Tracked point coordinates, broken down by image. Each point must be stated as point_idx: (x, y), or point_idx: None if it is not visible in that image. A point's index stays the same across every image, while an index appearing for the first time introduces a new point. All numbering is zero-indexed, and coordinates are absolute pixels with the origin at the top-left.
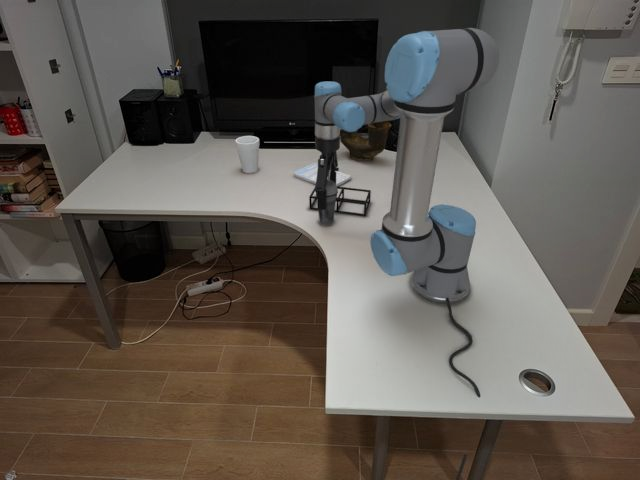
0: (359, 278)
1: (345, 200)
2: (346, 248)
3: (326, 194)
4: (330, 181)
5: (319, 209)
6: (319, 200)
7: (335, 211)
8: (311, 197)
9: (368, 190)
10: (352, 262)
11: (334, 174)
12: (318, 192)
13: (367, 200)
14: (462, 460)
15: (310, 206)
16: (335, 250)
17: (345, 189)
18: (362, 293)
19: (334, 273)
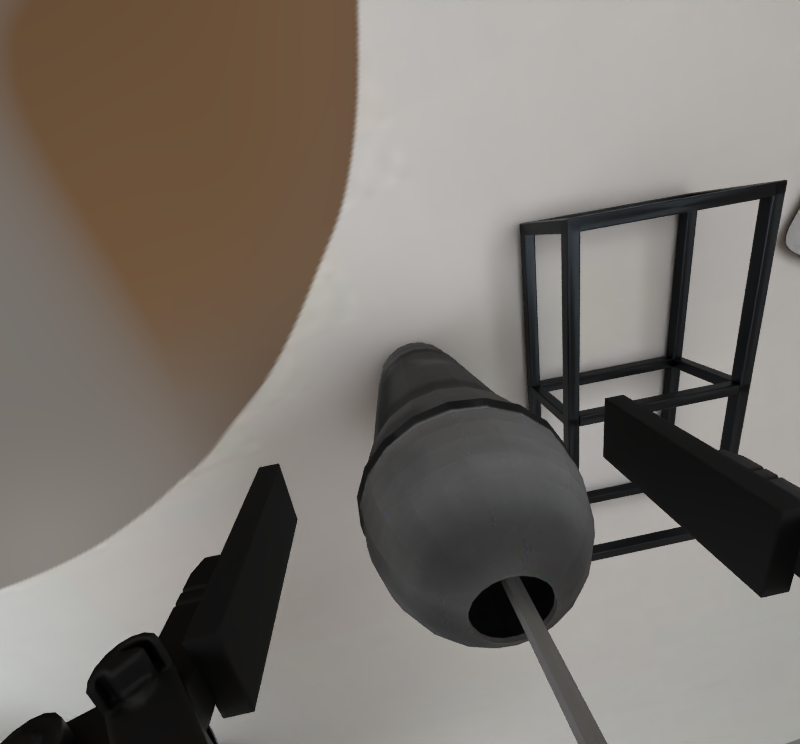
0: (91, 645)
1: None
2: None
3: (267, 647)
4: (507, 643)
5: (385, 391)
6: (200, 572)
7: (530, 381)
8: (563, 238)
9: None
10: (167, 593)
11: (737, 565)
12: (200, 620)
13: (608, 553)
14: None
15: (528, 230)
16: (204, 512)
17: (728, 400)
18: (21, 679)
19: (50, 571)
